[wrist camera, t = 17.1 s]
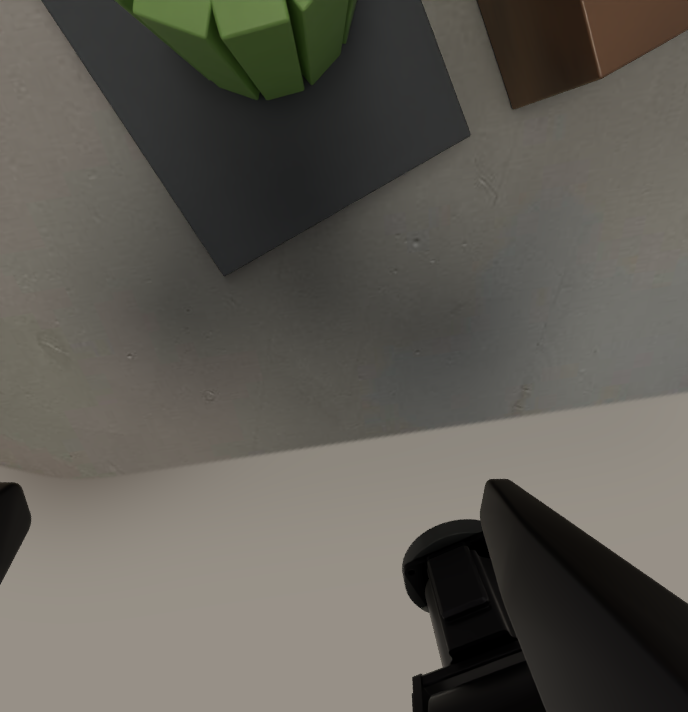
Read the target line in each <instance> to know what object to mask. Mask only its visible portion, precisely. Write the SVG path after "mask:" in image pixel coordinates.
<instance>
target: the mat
mask: <svg viewBox="0 0 688 712" xmlns="http://www.w3.org/2000/svg"><path fill="white" fill-rule="evenodd" d="M42 2H43V3H44V5H45V6H46V8H47V9H48V11H49V13H50V14H51V16H52V17H53V19H54V20H55V22H56V23H57V25H58V26H59V28H60V29H61V31H62V32H63V34H64V35H65V37H66V38H67V40H68V41H69V43H70V44H71V46H72V47H73V49H74V50H75V52H76V53H77V55H78V56H79V58H80V59H81V61H82V62H83V64H84V65H85V67H86V68H87V70H88V72H89V73H90V75H91V76H92V78H93V79H94V81H95V82H96V84H97V85H98V87H99V88H100V90H101V91H102V93H103V94H104V96H105V97H106V99H107V100H108V102H109V103H110V105H111V106H112V108H113V109H114V111H115V112H116V114H117V115H118V117H119V118H120V120H121V121H122V123H123V124H124V126H125V127H126V129H127V130H128V132H129V134H130V135H131V137H132V138H133V140H134V141H135V143H136V144H137V146H138V147H139V149H140V150H141V152H142V153H143V155H144V156H145V158H146V159H147V161H148V162H149V164H150V165H151V167H152V168H153V170H154V171H155V173H156V174H157V176H158V177H159V179H160V180H161V182H162V183H163V185H164V186H165V188H166V189H167V191H168V193H169V194H170V196H171V197H172V199H173V200H174V202H175V203H176V205H177V206H178V208H179V209H180V211H181V212H182V214H183V215H184V217H185V218H186V220H187V221H188V223H189V224H190V226H191V227H192V229H193V230H194V232H195V233H196V235H197V236H198V238H199V239H200V241H201V242H202V244H203V245H204V247H205V248H206V250H207V251H208V253H209V255H210V256H211V258H212V259H213V261H214V262H215V264H216V265H217V267H218V268H219V270H220V271H221V273H222V274H223V276H226V275H228V274H230V273H232V272H233V271H235V270H237V269H239V268H240V267H242V266H244V265H246V264H247V263H249V262H251V261H253V260H254V259H256V258H258V257H259V256H261V255H263V254H265V253H266V252H268V251H270V250H272V249H273V248H275V247H277V246H279V245H280V244H282V243H284V242H286V241H287V240H289V239H291V238H293V237H294V236H296V235H298V234H300V233H301V232H303V231H305V230H307V229H308V228H310V227H312V226H314V225H315V224H317V223H319V222H321V221H322V220H324V219H326V218H328V217H329V216H331V215H333V214H335V213H336V212H338V211H340V210H342V209H343V208H345V207H347V206H348V205H350V204H352V203H354V202H355V201H357V200H359V199H361V198H362V197H364V196H366V195H368V194H369V193H371V192H373V191H375V190H376V189H378V188H380V187H382V186H383V185H385V184H387V183H389V182H390V181H392V180H394V179H396V178H397V177H399V176H401V175H403V174H404V173H406V172H408V171H410V170H411V169H413V168H415V167H417V166H418V165H420V164H422V163H424V162H425V161H427V160H429V159H431V158H432V157H434V156H436V155H437V154H439V153H441V152H443V151H444V150H446V149H448V148H450V147H451V146H453V145H455V144H457V143H458V142H460V141H462V140H464V139H465V138H467V137H469V136H470V131H469V128H468V126H467V123H466V120H465V118H464V115H463V112H462V110H461V107H460V104H459V101H458V99H457V96H456V93H455V91H454V88H453V85H452V83H451V80H450V77H449V74H448V72H447V69H446V66H445V64H444V61H443V58H442V56H441V53H440V50H439V47H438V45H437V42H436V39H435V37H434V34H433V31H432V28H431V26H430V23H429V20H428V18H427V15H426V12H425V10H424V7H423V4H422V1H421V0H357V2H356V6H355V10H354V14H353V18H352V22H351V26H350V30H349V34H348V38H347V42H346V44H342V48H341V54H340V55H339V57H338V58H337V59H336V60H335V61H334V62H333V63H332V64H331V65H330V67H329V68H328V69H327V70H326V71H325V72H324V73H323V74H322V76H321V77H320V78H319V79H318V80H317V81H316V82H315V83H314V84H313V85H311V84H310V83H309V82H308V81H307V80H306V78H305V77H304V76H303V75H302V78H303V83H304V91H301V92H297V93H294V94H290V95H286V96H282V97H279V98H275V99H271V100H266V99H265V98H264V96H263V95H262V93H261V92H260V93H259V98H258V100H255V99H252V98H249V97H246V96H243V95H240V94H237V93H234V92H231V91H228V90H225V89H223V88H220V87H218V86H217V85H216V84H215V83H214V82H212V81H211V80H208V79H207V78H206V77H204V76H203V75H202V74H201V73H200V72H198V71H197V70H196V69H195V68H194V67H193V66H191V65H190V64H189V63H188V62H187V61H185V60H184V59H183V58H182V57H181V56H180V55H178V54H177V53H176V52H175V51H174V50H172V49H171V48H170V47H169V46H168V45H167V44H165V43H164V42H163V41H162V40H161V39H159V38H158V37H157V36H156V35H155V34H154V33H152V32H151V31H150V30H149V29H148V28H146V27H145V26H144V25H143V24H142V23H141V22H139V21H138V20H137V19H136V18H135V17H133V16H132V15H131V14H130V13H129V12H128V11H126V10H125V9H124V8H123V7H122V6H120V5H119V4H118V3H117V2H116V1H115V0H42Z"/></svg>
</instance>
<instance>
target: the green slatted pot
mask: <svg viewBox="0 0 688 712" xmlns="http://www.w3.org/2000/svg"><path fill="white" fill-rule="evenodd" d="M115 1H116V2H117V3H118V4H119V5H120V6H122V7H123V8H124V9H125V10H126V11H128V12H129V13H130V14H131V15H132V16H133V17H135V18H136V19H137V20H138V21H139V22H141V23H142V24H143V25H144V26H145V27H146V28H148V29H149V30H150V31H151V32H152V33H154V34H155V35H156V36H157V37H158V38H159V39H161V40H162V41H163V42H164V43H165V44H167V45H168V46H169V47H170V48H171V49H172V50H174V51H175V52H176V53H177V54H178V55H180V56H181V57H182V58H183V59H184V60H185V61H187V62H188V63H189V64H190V65H191V66H193V67H194V68H195V69H196V70H197V71H198V72H200V73H201V74H202V75H203V76H204V77H206V78H207V79H208V80H211V81H212V82H214V83H215V84H216V85H217V86H218V87H220V88H223V89H225V90H228V91H231V92H234V93H237V94H240V95H243V96H246V97H249V98H252V99H255V100H258V98H259V93H260V92H261V93H262V95H263V96H264V98H265V99H266V100H271V99H275V98H279V97H282V96H286V95H290V94H294V93H297V92H301V91H304V83H303V78H302V75H303V76H304V77H305V78H306V80H307V81H308V82H309V83H310V84H311V85H313V84H314V83H315V82H316V81H317V80H318V79H319V78H320V77H321V76H322V74H323V73H324V72H325V71H326V70H327V69H328V68H329V67H330V65H331V64H332V63H333V62H334V61H335V60H336V59H337V58H338V57H339V55H340V54H341V48H342V44H346V42H347V38H348V34H349V30H350V26H351V22H352V18H353V14H354V10H355V6H356V2H357V0H115Z"/></svg>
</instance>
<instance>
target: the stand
mask: <svg viewBox="0 0 688 712" xmlns="http://www.w3.org/2000/svg"><path fill="white" fill-rule="evenodd" d="M478 4H479V7H480V10H481V13H482V16H483V19H484V22H485V25H486V28H487V31H488V34H489V37H490V40H491V43H492V46H493V49H494V52H495V56H496V59H497V62H498V65H499V68H500V71H501V74H502V77H503V80H504V83H505V86H506V89H507V92H508V95H509V98H510V101H511V104H512V108H513V109H517V108H520V107H523V106H526V105H528V104H531V103H534V102H537V101H540V100H543V99H546V98H548V97H551V96H554V95H557V94H560V93H563V92H565V91H568V90H571V89H574V88H577V87H580V86H583V85H585V84H588V83H591V82H594V81H597V80H600V79H602V78H604V77H605V76H607V75H609V74H611V73H613V72H614V71H616V70H618V69H620V68H621V67H623V66H625V65H627V64H628V63H630V62H632V61H634V60H636V59H637V58H639V57H641V56H643V55H644V54H646V53H648V52H650V51H651V50H653V49H655V48H657V47H658V46H660V45H662V44H664V43H666V42H667V41H669V40H671V39H673V38H674V37H676V36H678V35H680V34H681V33H683V32H685V31H687V30H688V0H478Z"/></svg>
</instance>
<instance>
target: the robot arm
mask: <svg viewBox="0 0 688 712" xmlns="http://www.w3.org/2000/svg"><path fill="white" fill-rule="evenodd" d="M480 520H481V525H482V529H483V531H481V532H479V533H477V534H474V535H472V536H469V537H467V538H465V539H462V540H460V541H458V542H455V543H453V544H451V545H448V546H446V547H443V548H441V549H439V550H436V551H434V552H432V553H429V554H427V555H425V556H422V557H420V558H418V559H415V560H413V561H410V562H408V563H406V564H405V565H404V566H403V570H404V574H405V576H406V578H407V579H408V581H409V582H410V584H411V585H412V587H413V588H414V590H415V591H416V592H417V594H418V595H419V597H420V598H421V600H422V601H423V603H424V604H425V606H426V607H427V609H428V610H429V613H430V617H431V621H432V625H433V629H434V633H435V637H436V641H437V646H438V650H439V654H440V658H441V662H442V666H443V668H441V669H438V670H435V671H433V672H430V673H427V674H424V675H422V674H419V675H416V676H414V677H412V681H413V693H412V706H413V712H688V603H686V602H685V601H683V600H682V599H680V598H679V597H677V596H676V595H675V594H673V593H672V592H670V591H669V590H667V589H666V588H665V587H663V586H662V585H660V584H659V583H657V582H656V581H654V580H653V579H652V578H650V577H649V576H647V575H646V574H644V573H643V572H641V571H640V570H639V569H637V568H636V567H634V566H632V565H631V564H630V563H629V562H627V561H626V560H624V559H623V558H621V557H620V556H618V555H617V554H616V553H614V552H613V551H611V550H610V549H608V548H607V547H605V546H604V545H603V544H601V543H600V542H598V541H597V540H595V539H594V538H593V537H591V536H590V535H588V534H586V533H585V532H584V531H582V530H581V529H580V528H578V527H577V526H575V525H574V524H572V523H571V522H569V521H568V520H566V519H565V518H564V517H562V516H560V515H559V514H558V513H556V512H555V511H553V510H552V509H551V508H549V507H548V506H546V505H545V504H544V503H542V502H541V501H539V500H538V499H536V498H535V497H533V496H532V495H530V494H529V493H528V492H526V491H525V490H523V489H522V488H521V487H519V486H518V485H516V484H515V483H513V482H512V481H510V480H508V479H490V480H488V481H487V482H486V485H485V489H484V494H483V499H482V504H481V509H480ZM30 524H31V514H30V511H29V508H28V505H27V502H26V499H25V496H24V493H23V490H22V487H21V486H20V485H19V484H18V483H13V482H11V483H9V482H8V483H7V482H3V483H2V482H0V584H1V582H2V580H3V578H4V577H5V575H6V573H7V571H8V569H9V567H10V565H11V563H12V561H13V559H14V557H15V555H16V553H17V552H18V550H19V548H20V546H21V544H22V542H23V540H24V538H25V536H26V534H27V532H28V530H29V527H30Z"/></svg>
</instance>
